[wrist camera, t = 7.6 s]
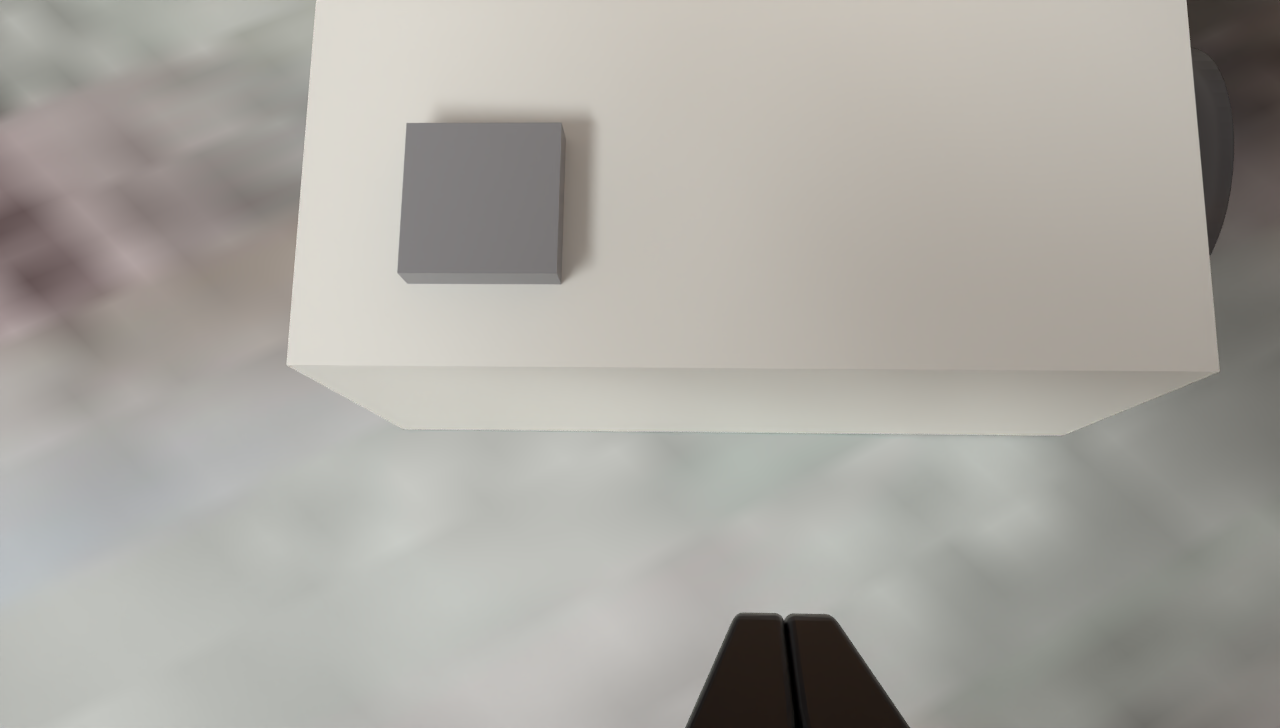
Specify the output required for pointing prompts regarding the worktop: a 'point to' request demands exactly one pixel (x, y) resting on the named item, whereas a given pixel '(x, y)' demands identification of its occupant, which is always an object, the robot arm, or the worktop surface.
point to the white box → (758, 213)
